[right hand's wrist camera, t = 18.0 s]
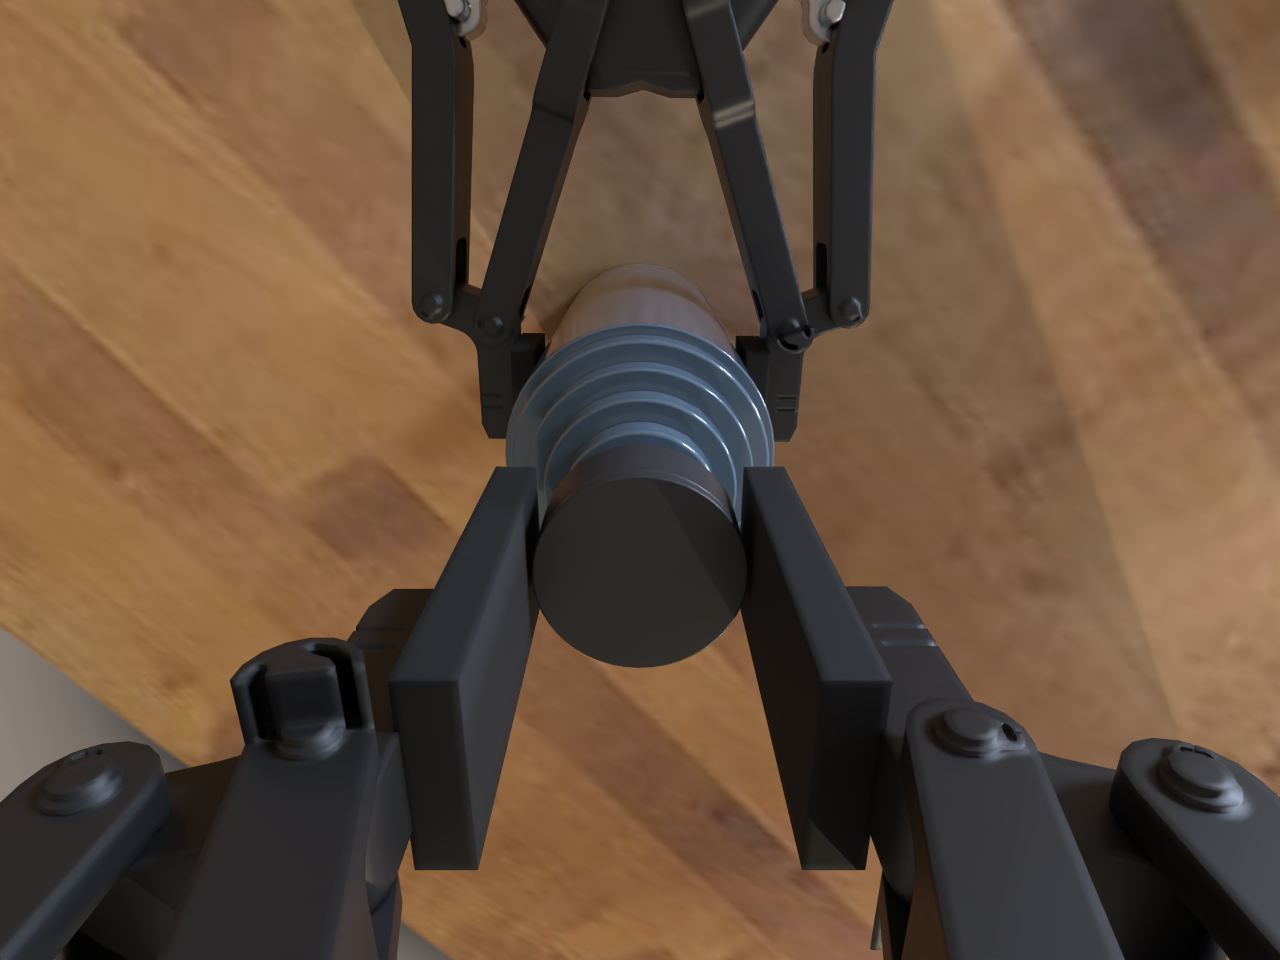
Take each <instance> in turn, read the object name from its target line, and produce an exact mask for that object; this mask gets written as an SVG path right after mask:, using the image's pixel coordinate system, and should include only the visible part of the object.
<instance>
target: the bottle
mask: <svg viewBox="0 0 1280 960" xmlns="http://www.w3.org/2000/svg"><path fill="white" fill-rule="evenodd" d="M640 444H642V445H655V446H660V447H665V448H669V449H672V450H675V451H678V452H681V453H683V454H685V455H687V456H689V457H691V458H693V459H694V460H696V461H697V462H699V463H700V464H702V465H703V466H704V467H706V468H707V469H708V470H709V471H710V472H711V473H712V474H713V475H714V476H715V477H716V478H717V479H718V481H719V482H720V483H721V484H722V486H723V487H724V489H725V490H726V492H727V494H728V496H729V498H730V500H731V502H732V505H733V508H734V512H735V515H736V518H737V522H738V525H739V529H740V525H741V506H742V488H743V469H744V467H773V465H774V436H773V428H772V424H771V420H770V416H769V412H768V410H767V407H766V405H765V402H764V400H763V398H762V395H761V394H760V392H759V390H758V388H757V387H756V385H755V383H754V381H753V380H752V378H751V376H750V374H749V373H748V371H747V369H746V367H745V366H744V364H743V362H742V360H741V359H740V357H739V355H738V354H737V352H736V350H735V348H734V347H733V345H732V343H731V341H730V340H729V338H728V336H727V334H726V333H725V331H724V329H723V327H722V326H721V324H720V322H719V320H718V319H717V317H716V315H715V313H714V312H713V310H712V308H711V306H710V305H709V303H708V301H707V300H706V298H705V297H704V295H703V294H702V293H701V292H700V290H699V289H698V288H697V287H696V286H695V285H694V284H693V283H692V282H690V281H689V280H688V279H686V278H685V277H684V276H682V275H680V274H678V273H677V272H675V271H673V270H670V269H668V268H665V267H662V266H658V265H653V264H643V263H639V264H628V265H622V266H618V267H615V268H612V269H610V270H608V271H606V272H603V273H601V274H600V275H598V276H597V277H595V278H594V279H592V280H591V281H590V282H589V283H588V284H586V285H585V286H584V287H583V288H582V289H581V291H580V292H579V293H578V294H577V295H576V297H575V298H574V300H573V302H572V303H571V305H570V306H569V308H568V310H567V312H566V313H565V315H564V317H563V319H562V320H561V322H560V324H559V326H558V327H557V329H556V331H555V333H554V334H553V336H552V338H551V339H550V341H549V343H548V345H547V346H546V348H545V350H544V352H543V353H542V355H541V357H540V359H539V360H538V362H537V364H536V366H535V367H534V369H533V371H532V373H531V374H530V376H529V378H528V379H527V381H526V383H525V385H524V386H523V388H522V390H521V392H520V394H519V396H518V398H517V400H516V402H515V404H514V407H513V410H512V413H511V417H510V420H509V424H508V430H507V436H506V463H507V467H536V469H537V487H538V506H539V525H540V528H541V525H542V522H543V518H544V515H545V511H546V508H547V505H548V502H549V500H550V498H551V496H552V494H553V492H554V490H555V489H556V487H557V486H558V485H559V483H560V482H561V480H562V479H563V478H564V477H565V476H566V475H567V474H568V473H569V472H570V471H571V470H572V469H573V468H575V467H576V466H577V465H578V464H579V463H581V462H583V461H584V460H586V459H588V458H589V457H591V456H593V455H595V454H597V453H600V452H602V451H605V450H608V449H611V448H615V447H620V446H626V445H640Z"/></svg>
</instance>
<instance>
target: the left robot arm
mask: <svg viewBox="0 0 1280 960" xmlns="http://www.w3.org/2000/svg"><path fill="white" fill-rule="evenodd" d="M514 1H515V2H516V4H517V6H518V7H519V9H520V10H521V12H522V13H523V15H524V16H525V18H526V19H527V21H528V22H529V24H530V25H531V27H532V28H533V30H534V31H535V33H536V34H537V36H538V37H539V39H540V40H541V42H542V43H543V45H544V46H545V48H546V52H545V56H544V59H543V63H542V66H541V70H540V74H539V77H538V81H537V84H536V88H535V92H534V97H533V104H532V112H531V116H530V120H529V123H528V127H527V130H526V134H525V137H524V141H523V144H522V148H521V151H520V155H519V159H518V162H517V166H516V169H515V173H514V176H513V180H512V183H511V187H510V190H509V194H508V198H507V201H506V205H505V208H504V212H503V215H502V219H501V222H500V226H499V229H498V233H497V237H496V240H495V244H494V247H493V251H492V254H491V258H490V261H489V265H488V268H487V272H486V276H485V279H484V283H483V286H482V289H480V288H477V287H475V286H472V285H469V284H468V282H469V245H470V209H471V172H472V135H473V99H474V66H473V58H472V50H471V45H470V41H471V40H474V39H476V38H478V37H479V36H480V35H481V34H482V33H483V32H484V30H485V28H486V24H487V3H488V0H398V3H399V6H400V9H401V12H402V16H403V19H404V22H405V25H406V29H407V32H408V35H409V38H410V42H411V45H412V306H413V310H414V312H415V313H416V315H417V316H418V317H419V318H420V319H421V320H423V321H424V322H428V323H431V324H434V323H441V324H443V325H446V326H449V327H452V328H454V329H457V330H460V331H462V332H464V333H465V334H467V335H468V336H469V337H470V338H471V339H472V341H473V342H474V344H475V346H476V349H477V354H478V368H479V383H480V394H481V396H480V398H481V413H482V425H483V427H484V429H485V431H486V433H487V435H488V437H489V438H494V439H506V436H507V430H508V424H509V420H510V417H511V413H512V410H513V407H514V404H515V402H516V400H517V398H518V396H519V394H520V392H521V390H522V388H523V386H524V385H525V383H526V381H527V379H528V378H529V376H530V374H531V373H532V371H533V369H534V367H535V366H536V364H537V362H538V360H539V359H540V357H541V355H542V353H543V352H544V350H545V333H523V334H522V335H521V323H522V321H523V319H524V318H525V316H523V315H524V312H525V309H526V305H527V302H528V299H529V295H530V292H531V289H532V286H533V282H534V279H535V276H536V273H537V269H538V266H539V263H540V259H541V256H542V253H543V250H544V246H545V243H546V240H547V237H548V233H549V230H550V227H551V223H552V220H553V217H554V214H555V210H556V207H557V204H558V201H559V197H560V194H561V191H562V187H563V184H564V181H565V178H566V174H567V171H568V168H569V165H570V161H571V158H572V155H573V151H574V148H575V145H576V142H577V138H578V135H579V132H580V130H581V128H582V125H583V123H584V120H585V117H586V114H587V111H588V107H589V104H590V101H591V98H592V96H593V97H620V96H623V95H627V94H630V93H634V92H637V91H641V90H647V91H650V92H653V93H656V94H659V95H663V96H666V97H669V98H696V102H697V106H698V109H699V113H700V116H701V120H702V123H703V126H704V128H705V131H706V133H707V136H708V139H709V143H710V147H711V150H712V154H713V157H714V161H715V165H716V168H717V172H718V175H719V179H720V183H721V186H722V190H723V193H724V197H725V201H726V204H727V208H728V211H729V215H730V219H731V222H732V226H733V229H734V233H735V237H736V240H737V244H738V247H739V251H740V255H741V258H742V262H743V265H744V269H745V273H746V276H747V280H748V283H749V287H750V291H751V294H752V298H753V301H754V305H755V309H756V312H757V316H758V319H759V323H760V325H761V326H760V338H759V336H736V349H735V350H736V352H737V354H738V355H739V357H740V359H741V360H742V362H743V364H744V366H745V367H746V369H747V371H748V373H749V374H750V376H751V378H752V380H753V381H754V383H755V385H756V387H757V388H758V390H759V392H760V394H761V395H762V398H763V400H764V402H765V405H766V407H767V410H768V412H769V416H770V420H771V424H772V428H773V436H774V441H780V442H789V441H790V439H791V437H792V435H793V433H794V431H795V429H796V427H797V416H798V405H799V395H800V384H801V373H802V362H803V355H804V351H805V350H806V349H807V348H808V347H809V346H810V344H811V343H812V341H813V339H814V338H816V337H818V336H820V335H822V334H825V333H828V332H831V331H834V330H837V329H840V328H848V329H850V328H854V327H857V326H859V325H860V324H861V323H863V322H864V320H865V319H866V317H867V316H868V313H869V308H870V276H871V236H872V196H873V156H874V117H875V77H876V52H877V49H878V46H879V43H880V40H881V37H882V34H883V31H884V28H885V25H886V22H887V19H888V16H889V13H890V10H891V7H892V4H893V1H894V0H799V1H800V3H801V7H802V30H803V34H804V36H805V37H806V39H807V40H808V41H809V42H810V43H812V44H814V45H817V46H818V50H817V54H816V60H815V67H814V79H813V289H810V290H807V291H805V292H802V293H801V292H800V288H799V284H798V280H797V276H796V272H795V268H794V264H793V260H792V256H791V252H790V248H789V244H788V240H787V236H786V233H785V229H784V225H783V221H782V217H781V213H780V209H779V205H778V201H777V197H776V193H775V189H774V185H773V181H772V177H771V174H770V170H769V166H768V162H767V158H766V154H765V150H764V146H763V142H762V138H761V134H760V130H759V126H758V122H757V118H756V113H755V101H754V95H753V91H752V87H751V83H750V79H749V75H748V71H747V67H746V63H745V59H744V55H743V50H744V49H745V48H746V46H747V45H748V43H749V42H750V40H751V39H752V38H753V36H754V35H755V33H756V32H757V30H758V29H759V27H760V26H761V25H762V23H763V22H764V20H765V19H766V17H767V16H768V15H769V13H770V12H771V10H772V9H773V7H774V6H775V5H776V3H777V2H778V0H514Z"/></svg>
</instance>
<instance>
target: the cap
mask: <svg viewBox="0 0 1280 960" xmlns="http://www.w3.org/2000/svg"><path fill="white" fill-rule="evenodd" d="M532 583H533V589H534V593H535V597H536V600H537V602H538V605H539V607H540V609H541V612H542V613H543V615H544V616H545V618H546V620H547V621H548V623H549V624H550V625H551V627H552V628H553V629H554V630H555V632H556V633H557V634H558V635H559V636H560V637H561V638H562V639H563V640H565V641H566V642H567V643H568V644H570V645H571V646H572V647H574V648H575V649H577V650H578V651H580V652H582V653H584V654H585V655H587V656H589V657H592V658H594V659H596V660H599V661H602V662H605V663H609V664H612V665H618V666H623V667H635V668H645V667H656V666H663V665H668V664H671V663H675V662H678V661H681V660H683V659H686V658H689V657H691V656H693V655H695V654H696V653H698V652H700V651H702V650H703V649H705V648H706V647H708V646H709V645H710V644H712V643H713V642H714V641H715V640H716V639H718V638H719V637H720V636H721V635H722V634H723V633H724V632H725V630H726V629H727V628H728V627H729V626H730V624H731V623H732V621H733V620H734V618H735V617H736V615H737V614H738V611H739V609H740V607H741V605H742V603H743V600H744V596H745V593H746V590H747V583H748V560H747V553H746V550H745V546H744V543H743V539H742V536H741V532H740V529H739V525H738V522H737V518H736V515H735V512H734V508H733V505H732V502H731V500H730V498H729V496H728V494H727V492H726V490H725V489H724V487H723V486H722V484H721V483H720V482H719V481H718V479H717V478H716V477H715V476H714V475H713V474H712V473H711V472H710V471H709V470H708V469H707V468H706V467H704V466H703V465H702V464H700V463H699V462H697V461H696V460H694V459H693V458H691V457H689V456H687V455H685V454H683V453H681V452H678V451H675V450H672V449H669V448H665V447H660V446H655V445H642V444H640V445H626V446H620V447H615V448H611V449H608V450H605V451H602V452H600V453H597V454H595V455H593V456H591V457H589V458H588V459H586V460H584V461H583V462H581V463H579V464H578V465H577V466H576V467H575V468H573V469H572V470H571V471H570V472H569V473H568V474H567V475H566V476H565V477H564V478H563V479H562V480H561V482H560V483H559V485H558V486H557V487H556V489H555V490H554V492H553V494H552V496H551V498H550V500H549V502H548V505H547V508H546V511H545V515H544V518H543V522H542V525H541V528H540V532H539V535H538V539H537V543H536V546H535V549H534V554H533V560H532Z"/></svg>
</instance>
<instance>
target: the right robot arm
mask: <svg viewBox="0 0 1280 960" xmlns="http://www.w3.org/2000/svg"><path fill="white" fill-rule="evenodd" d="M539 532H540V525H539V506H538V487H537V469H536V467H496V468H495V470H494V472H493V474H492V476H491V478H490V480H489V482H488V484H487V486H486V488H485V490H484V492H483V494H482V495H481V497H480V499H479V501H478V503H477V505H476V507H475V509H474V511H473V513H472V515H471V517H470V519H469V521H468V523H467V525H466V527H465V529H464V531H463V533H462V535H461V537H460V539H459V541H458V543H457V545H456V547H455V549H454V550H453V552H452V554H451V556H450V558H449V560H448V562H447V564H446V566H445V568H444V570H443V572H442V574H441V576H440V578H439V580H438V582H437V584H436V586H435V588H434V589H393V590H392V591H390V592H389V593H388V594H386V595H385V596H383V597H382V598H381V599H379V600H378V601H376V602H375V603H374V604H372V605H371V606H369V608H368V609H367V611H366V612H365V614H364V615H363V617H362V619H361V620H360V622H359V623H358V625H357V626H356V631H353V633H352V634H351V636H350V637H349V639H348V640H347V641H344V640H340V639H337V638H307V639H302V640H297V641H292V642H287V643H284V644H281V645H279V646H276V647H274V648H271V649H269V650H266V651H264V652H261V653H260V654H258V655H257V656H255V657H254V658H252V659H251V660H249V661H248V662H246V663H245V664H243V665H242V666H241V667H240V668H239V670H238V671H237V672H236V673H235V674H234V676H233V677H232V678H231V679H230V684H231V688H232V692H233V696H234V700H235V704H236V709H237V713H238V717H239V721H240V725H241V729H242V734H243V738H244V742H245V746H244V749H243V751H242V754H241V755H240V756H236V757H233V758H229V759H226V760H222V761H219V762H214V763H210V764H205V765H200V766H196V767H191V768H187V769H182V770H178V771H173V772H168V773H164V770H163V766H162V763H161V760H160V756H159V755H158V754H157V753H156V752H155V751H154V750H153V749H152V748H151V747H150V746H149V745H144V744H140V743H134V742H129V741H126V742H117V743H106V744H100V745H97V746H93V747H89V748H87V749H82V750H79V751H76V752H73V753H71V754H69V755H67V756H65V757H63V758H61V759H59V760H57V761H55V762H53V763H51V764H49V765H47V766H45V767H43V768H42V769H40V770H39V771H38V772H36V773H35V774H34V775H32V776H31V777H30V778H28V779H27V780H25V781H24V782H23V783H21V784H20V785H19V786H18V787H17V788H16V789H14V790H13V791H12V792H11V793H10V794H9V795H8V796H7V797H6V798H5V799H4V800H2V801H1V802H0V960H54V959H55V960H396V959H397V949H398V939H399V930H400V920H401V911H402V897H401V889H400V883H399V876H398V870H399V867H400V864H401V861H402V859H403V856H404V853H405V850H406V847H407V844H408V842H409V839H410V841H411V847H412V854H413V861H414V868H415V870H478V867H479V863H480V859H481V855H482V850H483V846H484V842H485V838H486V833H487V829H488V825H489V821H490V817H491V812H492V808H493V804H494V800H495V795H496V791H497V787H498V783H499V779H500V774H501V770H502V766H503V762H504V757H505V753H506V749H507V745H508V740H509V736H510V732H511V728H512V724H513V719H514V715H515V711H516V707H517V702H518V698H519V694H520V690H521V685H522V681H523V677H524V673H525V669H526V664H527V660H528V656H529V652H530V647H531V643H532V639H533V635H534V630H535V626H536V622H537V618H538V614H539V609H540V607H539V605H538V602H537V600H536V597H535V593H534V589H533V583H532V560H533V554H534V549H535V546H536V543H537V539H538V535H539ZM740 532H741V536H742V539H743V543H744V546H745V550H746V553H747V560H748V583H747V590H746V593H745V596H744V600H743V603H742V605H741V607H740V609H741V614H742V618H743V622H744V626H745V630H746V635H747V639H748V643H749V647H750V652H751V656H752V660H753V664H754V669H755V673H756V677H757V681H758V685H759V690H760V694H761V698H762V702H763V707H764V711H765V715H766V719H767V723H768V728H769V732H770V736H771V740H772V745H773V749H774V753H775V757H776V762H777V766H778V770H779V774H780V778H781V783H782V787H783V791H784V795H785V800H786V804H787V808H788V812H789V817H790V821H791V825H792V829H793V833H794V838H795V842H796V846H797V850H798V855H799V859H800V863H801V867H802V870H865V868H866V861H867V854H868V847H869V841H870V835H871V838H872V841H873V843H874V846H875V849H876V852H877V855H878V858H879V860H880V863H881V866H882V869H883V870H882V876H881V883H880V889H879V895H878V901H877V908H876V914H875V920H874V927H873V933H872V940H871V947H870V949H871V950H877V951H880V949H881V943H882V947H883V957H884V960H1225V959H1226V956H1228V957H1229V959H1230V960H1280V798H1279V797H1278V796H1277V795H1276V794H1275V793H1274V792H1273V791H1272V790H1271V789H1270V788H1269V787H1267V786H1266V785H1265V784H1264V783H1263V782H1262V781H1261V780H1259V779H1258V778H1256V777H1255V776H1254V775H1252V774H1251V773H1250V772H1248V771H1247V770H1245V769H1244V768H1243V767H1241V766H1240V765H1239V764H1237V763H1235V762H1233V761H1231V760H1229V759H1227V758H1225V757H1223V756H1221V755H1219V754H1217V753H1215V752H1213V751H1211V750H1209V749H1206V748H1203V747H1200V746H1197V745H1196V746H1195V745H1192V744H1190V743H1185V742H1182V741H1178V740H1168V739H1158V738H1150V739H1145V740H1140V741H1135V742H1132V743H1131V744H1130V745H1129V746H1128V747H1127V748H1125V749H1124V750H1123V751H1122V753H1121V756H1120V760H1119V763H1118V766H1117V770H1113V769H1108V768H1104V767H1099V766H1095V765H1090V764H1085V763H1081V762H1076V761H1072V760H1067V759H1062V758H1059V757H1055V756H1052V755H1048V754H1045V753H1041V752H1039V751H1038V750H1037V747H1036V745H1035V743H1034V742H1033V740H1032V739H1031V737H1030V736H1029V735H1028V733H1027V732H1026V730H1025V729H1024V728H1023V727H1022V726H1021V725H1019V724H1018V723H1017V722H1015V721H1014V720H1013V719H1012V718H1010V717H1009V716H1008V715H1006V714H1005V713H1003V712H1001V711H998V710H996V709H994V708H992V707H989V706H987V705H985V704H983V703H979V702H975V701H973V699H972V697H971V696H970V694H969V693H968V691H967V690H966V688H965V687H964V685H963V684H962V682H961V680H960V679H959V677H958V676H957V674H956V673H955V671H954V670H953V668H952V666H951V665H950V663H949V662H948V660H947V659H946V657H945V656H944V654H943V653H942V651H941V649H940V648H939V646H936V644H935V640H934V639H933V637H932V636H931V634H930V632H929V631H928V629H925V627H924V623H923V622H922V620H921V618H920V617H919V615H918V614H917V612H916V611H915V609H914V608H913V606H912V605H911V604H910V603H909V602H907V601H906V600H905V599H903V598H902V597H900V596H899V595H898V594H896V593H895V592H893V591H892V590H890V589H889V588H888V587H845V586H844V584H843V582H842V580H841V578H840V576H839V574H838V572H837V570H836V568H835V566H834V564H833V562H832V560H831V558H830V556H829V554H828V552H827V550H826V549H825V547H824V545H823V543H822V541H821V539H820V537H819V535H818V533H817V531H816V529H815V527H814V525H813V523H812V521H811V519H810V517H809V515H808V513H807V511H806V509H805V507H804V505H803V503H802V501H801V499H800V497H799V495H798V494H797V492H796V490H795V488H794V486H793V484H792V482H791V480H790V478H789V476H788V474H787V472H786V470H785V468H784V467H744V469H743V488H742V506H741V525H740Z"/></svg>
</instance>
